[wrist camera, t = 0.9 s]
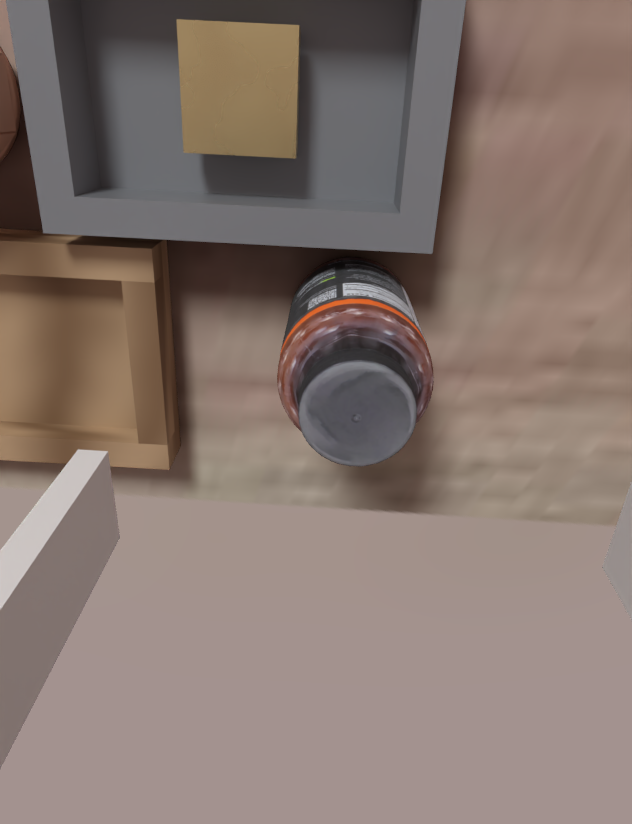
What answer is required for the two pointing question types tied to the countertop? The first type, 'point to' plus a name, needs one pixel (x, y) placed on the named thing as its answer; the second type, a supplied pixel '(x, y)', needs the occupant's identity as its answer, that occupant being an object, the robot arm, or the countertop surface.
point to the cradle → (229, 174)
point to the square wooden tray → (86, 349)
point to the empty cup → (8, 106)
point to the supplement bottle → (354, 363)
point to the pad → (239, 87)
